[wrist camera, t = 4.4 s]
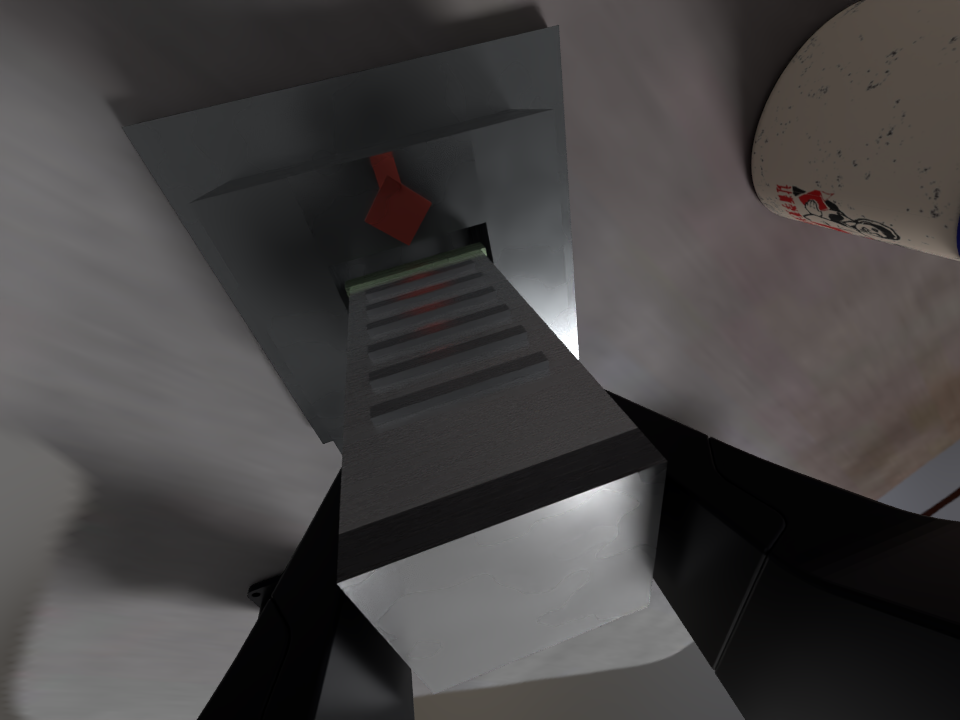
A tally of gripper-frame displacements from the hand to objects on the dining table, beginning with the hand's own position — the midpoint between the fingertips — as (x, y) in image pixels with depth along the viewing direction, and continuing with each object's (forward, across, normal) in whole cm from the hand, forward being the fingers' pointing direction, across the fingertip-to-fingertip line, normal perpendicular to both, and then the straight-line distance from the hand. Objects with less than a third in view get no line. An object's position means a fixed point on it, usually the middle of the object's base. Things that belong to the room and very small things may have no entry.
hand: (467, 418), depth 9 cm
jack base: (+10, 0, 0) cm, 10 cm away
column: (+6, 0, 0) cm, 6 cm away
